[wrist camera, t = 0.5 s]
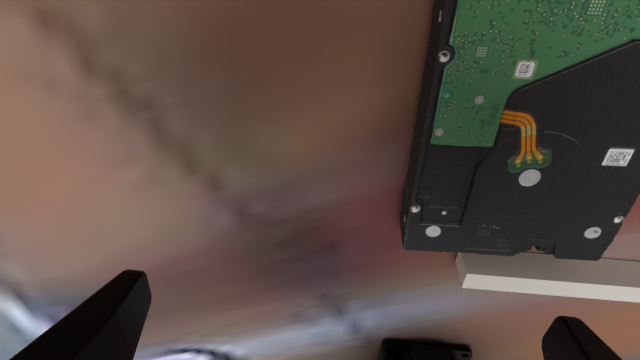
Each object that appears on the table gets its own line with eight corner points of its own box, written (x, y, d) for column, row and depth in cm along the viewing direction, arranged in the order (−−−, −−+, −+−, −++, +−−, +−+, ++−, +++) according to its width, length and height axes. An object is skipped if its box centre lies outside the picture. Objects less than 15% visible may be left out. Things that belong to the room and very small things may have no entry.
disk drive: (581, 224, 24) (738, -81, 15) (604, 262, 22) (805, -70, 13) (397, 217, 25) (439, -81, 15) (401, 253, 22) (453, -70, 13)
